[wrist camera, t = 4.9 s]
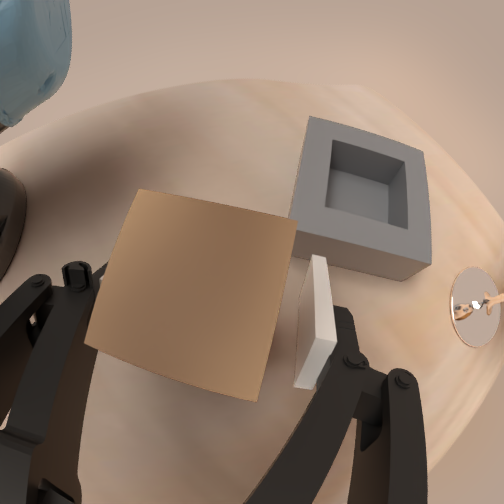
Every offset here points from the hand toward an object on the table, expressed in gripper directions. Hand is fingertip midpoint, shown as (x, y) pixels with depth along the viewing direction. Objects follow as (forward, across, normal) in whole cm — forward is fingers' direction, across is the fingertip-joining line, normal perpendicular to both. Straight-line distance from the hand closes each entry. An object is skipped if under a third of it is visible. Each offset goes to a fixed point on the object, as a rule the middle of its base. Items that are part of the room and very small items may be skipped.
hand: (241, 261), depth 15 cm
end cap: (+9, +7, +2) cm, 12 cm away
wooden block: (+1, 0, -6) cm, 6 cm away
